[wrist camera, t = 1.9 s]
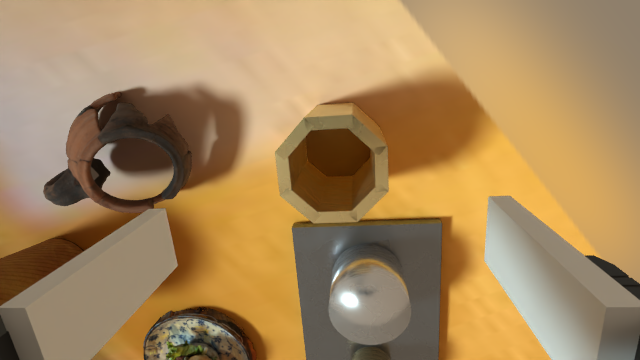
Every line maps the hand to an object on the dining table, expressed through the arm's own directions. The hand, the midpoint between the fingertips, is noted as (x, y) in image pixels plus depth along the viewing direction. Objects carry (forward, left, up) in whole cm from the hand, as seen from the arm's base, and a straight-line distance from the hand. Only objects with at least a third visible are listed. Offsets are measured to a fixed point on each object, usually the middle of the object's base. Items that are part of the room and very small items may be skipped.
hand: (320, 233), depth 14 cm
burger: (+22, -16, -17) cm, 32 cm away
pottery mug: (-1, -18, -17) cm, 25 cm away
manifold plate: (+17, +2, -16) cm, 23 cm away
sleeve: (0, 0, -16) cm, 16 cm away
